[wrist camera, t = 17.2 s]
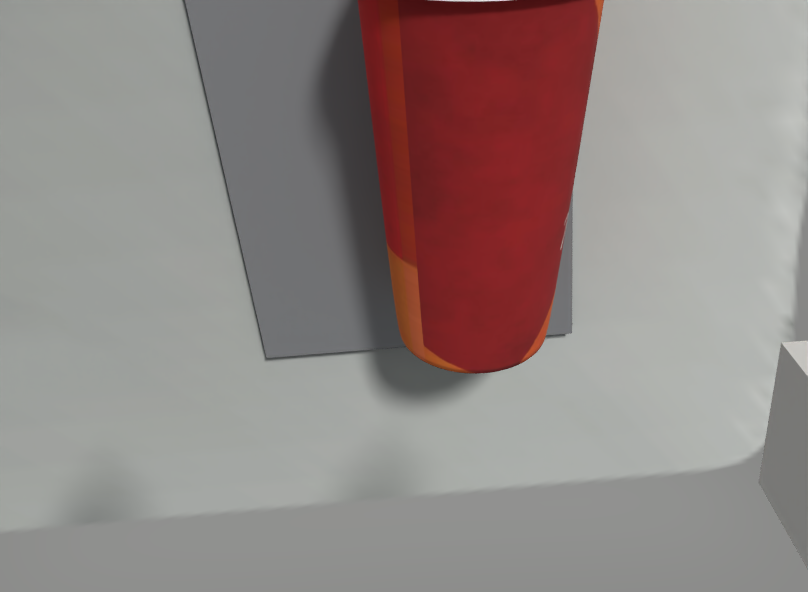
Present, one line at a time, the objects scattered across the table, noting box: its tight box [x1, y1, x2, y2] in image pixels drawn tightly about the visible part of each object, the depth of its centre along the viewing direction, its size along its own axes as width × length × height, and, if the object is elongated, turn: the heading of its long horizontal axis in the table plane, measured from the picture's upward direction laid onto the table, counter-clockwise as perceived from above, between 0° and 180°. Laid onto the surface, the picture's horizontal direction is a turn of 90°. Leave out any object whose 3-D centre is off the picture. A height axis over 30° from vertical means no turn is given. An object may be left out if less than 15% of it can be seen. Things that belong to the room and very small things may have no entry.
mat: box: [185, 0, 573, 358], centre depth 30 cm, size 14×22×1 cm, turn 6°
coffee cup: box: [358, 0, 604, 373], centre depth 26 cm, size 8×8×15 cm
